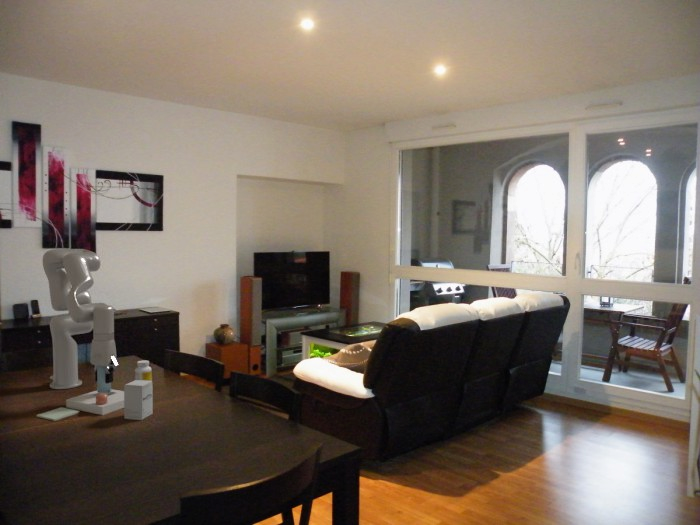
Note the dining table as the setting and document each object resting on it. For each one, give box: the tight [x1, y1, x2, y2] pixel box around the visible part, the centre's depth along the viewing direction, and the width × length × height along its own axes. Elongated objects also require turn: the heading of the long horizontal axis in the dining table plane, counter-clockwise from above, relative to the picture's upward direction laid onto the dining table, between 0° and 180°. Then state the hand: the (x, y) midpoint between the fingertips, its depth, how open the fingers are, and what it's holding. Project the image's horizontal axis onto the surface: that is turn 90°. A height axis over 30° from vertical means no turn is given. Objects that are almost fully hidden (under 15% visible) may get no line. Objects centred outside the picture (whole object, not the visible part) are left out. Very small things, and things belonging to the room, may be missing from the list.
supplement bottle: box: [134, 359, 153, 381], centre depth 231 cm, size 7×7×13 cm
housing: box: [65, 388, 124, 416], centre depth 214 cm, size 20×18×3 cm
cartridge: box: [96, 363, 112, 393], centre depth 218 cm, size 6×6×12 cm
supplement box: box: [123, 379, 154, 421], centre depth 200 cm, size 7×7×13 cm
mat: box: [36, 406, 80, 422], centre depth 202 cm, size 10×10×1 cm
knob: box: [96, 393, 108, 404], centre depth 206 cm, size 4×4×6 cm
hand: (104, 381), depth 218 cm, fingers closed on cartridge, 5 cm apart
